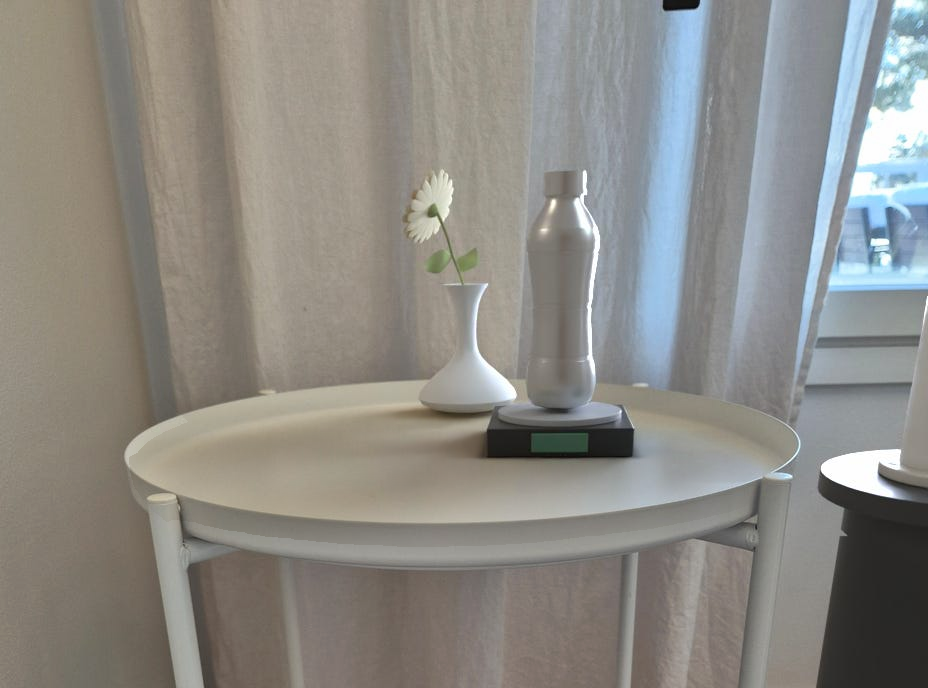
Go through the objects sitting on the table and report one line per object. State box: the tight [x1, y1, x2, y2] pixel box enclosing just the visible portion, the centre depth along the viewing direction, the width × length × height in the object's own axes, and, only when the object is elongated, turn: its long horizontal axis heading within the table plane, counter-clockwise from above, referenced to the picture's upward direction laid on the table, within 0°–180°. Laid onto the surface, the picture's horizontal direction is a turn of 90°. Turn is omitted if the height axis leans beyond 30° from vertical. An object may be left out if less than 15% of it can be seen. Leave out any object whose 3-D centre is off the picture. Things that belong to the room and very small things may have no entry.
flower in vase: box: [401, 168, 518, 414], centre depth 98 cm, size 13×11×25 cm
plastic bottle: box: [525, 170, 601, 411], centre depth 80 cm, size 6×7×20 cm
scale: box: [486, 400, 635, 458], centre depth 85 cm, size 13×14×3 cm
